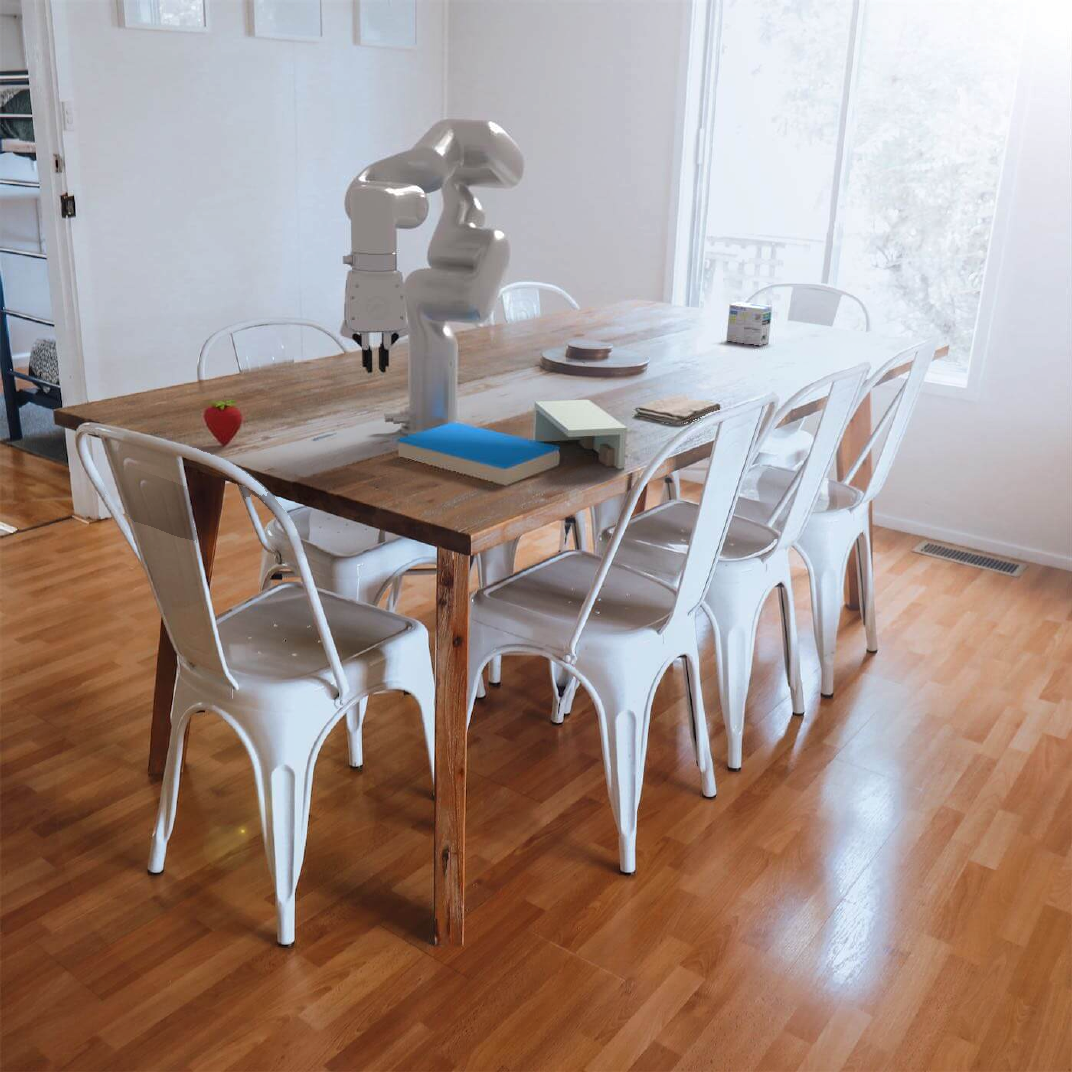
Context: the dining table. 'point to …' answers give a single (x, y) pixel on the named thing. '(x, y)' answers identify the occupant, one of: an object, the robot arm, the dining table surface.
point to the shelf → (581, 428)
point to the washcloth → (676, 410)
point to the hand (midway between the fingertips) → (375, 370)
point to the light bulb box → (749, 323)
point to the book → (479, 452)
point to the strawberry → (223, 420)
